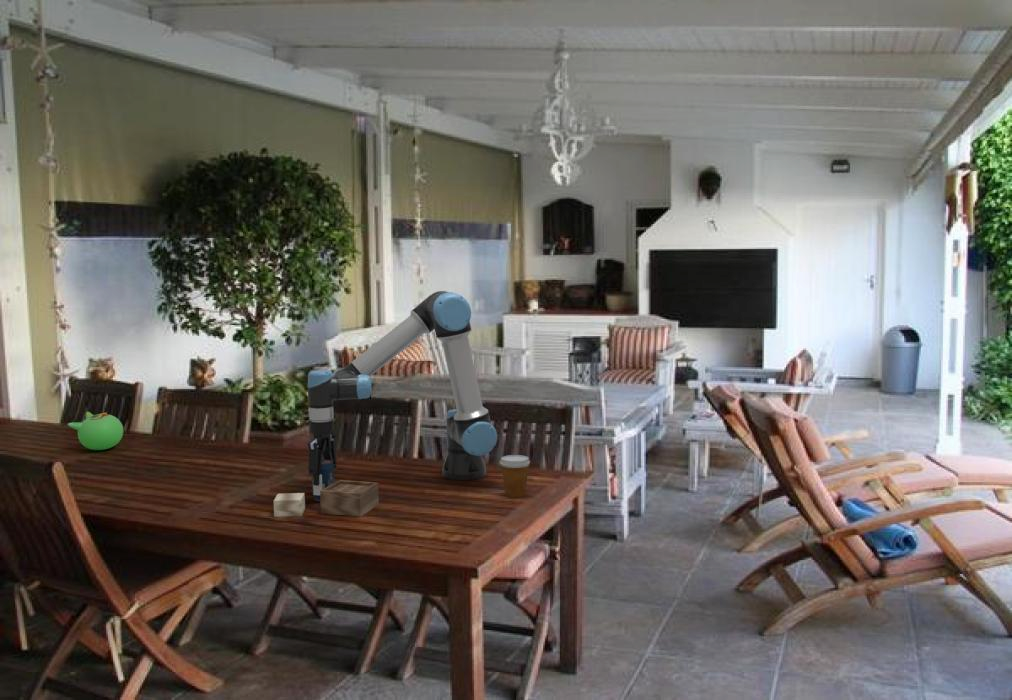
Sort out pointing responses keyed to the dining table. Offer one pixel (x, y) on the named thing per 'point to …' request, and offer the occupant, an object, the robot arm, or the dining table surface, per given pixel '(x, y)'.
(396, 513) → the dining table surface
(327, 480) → the soda can
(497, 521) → the dining table surface
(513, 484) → the disposable coffee cup
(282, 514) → the beech block
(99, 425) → the toy bird
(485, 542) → the dining table surface
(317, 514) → the dining table surface
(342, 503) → the wooden crate
